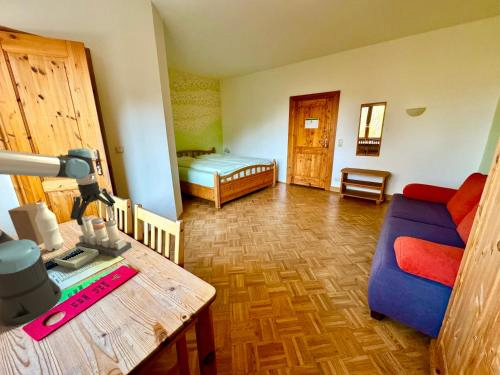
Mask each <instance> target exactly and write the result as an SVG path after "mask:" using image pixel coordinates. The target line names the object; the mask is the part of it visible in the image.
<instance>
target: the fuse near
mask: <svg viewBox="0 0 500 375" xmlns="http://www.w3.org/2000/svg"><path fill="white" fill-rule="evenodd" d="M104 226H105V231H106V235H107V237H108V238H109V242H110V248H112V249H114V248H116V246H115V242H117V241H119V240H120V239H121V238H120V233H119V229H118V224H117V220H116V219H110V220H107V221H105V222H104Z"/></svg>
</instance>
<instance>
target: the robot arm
mask: <svg viewBox="0 0 500 375" xmlns="http://www.w3.org/2000/svg"><path fill="white" fill-rule="evenodd" d="M90 151H91V150H89V149H88V148H72V149H68V150H67V154H65V155H57V156H55V155H49V154H41V153H40V154H39V153H33V152H24V151H16V150H8V149H1V148H0V175H6V176H9V175H10V176H25V177H26V176H27V177H38V178H65V179H71V180H75V181H76V184H77V188H78V192H79V193H80V196H79V195H78V196H73V197H72V200H73V202H72V204H73V205H72V208H71V213H70V217H69V218H70V220H76V222H77V225H78V226H79V227H80V230H81V232H82V231H88V230H87V227H86V223H85V220H84V218H82V217H84V214H85V212H86V209H87V207H88V206H89V205H90V204H92V203H94V202H96V201H100V202H101V203H103V204H105V205H106V206H105V209H106V213H107V216H108V219H114V217H115V216H114V208H113V206H114V205H115V204H116V201H115V199H114V198H113V197H112V196H111V195H110V194H109V193H108V191H107V189H106V188H104V187H102V188H101V187H100V185H99V181H98V178H97V174H96V171H95V166H94V161H93V157H92V154H91V152H90ZM104 197H105V198H104ZM62 296H63V292H62V288H61V287H60V286H59V285H58V283H56V282H55V281H53V279H51V278H50V276H49V273H48V270H47V268H46V265H45V262H44V259H43V256H42V254H41V249H40V247H39V245H37V244H36V243H35V242H34V241H31V240H26V239H23V240H19V239H14V238H12V236H10V235H9V234H7V233H6V232H5V231H3V230H2V229H0V325H2V326H4V327H5V326H6V327H12V326H14V327H15V326H19V325H22V324H25V323H27V322H30V321H33V320H34V319H36V318H39V317H40V316H42V315H44V314H45V313H47V312H48V311H49V310H51V309H52V308H54V307H55V306H56V305H57V304H58V303H59V302H60V300H61V299H62Z"/></svg>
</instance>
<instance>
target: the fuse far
mask: <svg viewBox="0 0 500 375" xmlns="http://www.w3.org/2000/svg"><path fill="white" fill-rule="evenodd" d="M82 218H84V220H85V223H86V227H87V230H88V231H82V230H81V232H82V233H81V234H83V236H84V241H85V243H90V242H89V237H91V236H93V235H95V233H94V229H93V226H92V223H91V221H92V220H91V216H89V215H85V216H82Z"/></svg>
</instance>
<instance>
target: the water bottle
mask: <svg viewBox="0 0 500 375" xmlns="http://www.w3.org/2000/svg"><path fill="white" fill-rule="evenodd" d="M36 205H37V209H38V212H37V215H36V218H35V221H36V223H37V226H38V229H39V231H40V233H41V235H42V237H43V241H44V242H43V246H44V248H45V249H46V250H47V251H49V252H52V251H53V250H57V251H58V250H59V249H61V247H63V246H64V242H65V241H64V239H63V237H62V236H61V233H60V228H59V224H58V220H57V217H56V214H55V213H54V212H52V211H51V210H49V208H48V205H47V204H46V202H45V201H40V202H36Z"/></svg>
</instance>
